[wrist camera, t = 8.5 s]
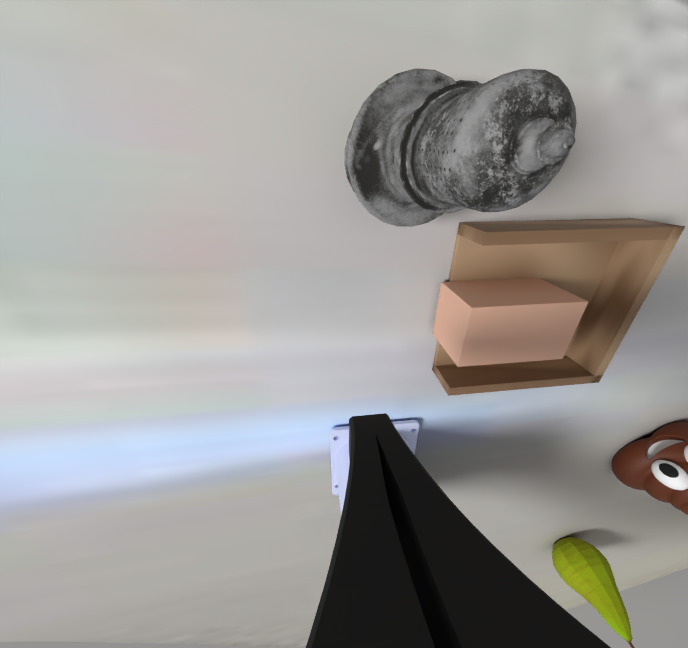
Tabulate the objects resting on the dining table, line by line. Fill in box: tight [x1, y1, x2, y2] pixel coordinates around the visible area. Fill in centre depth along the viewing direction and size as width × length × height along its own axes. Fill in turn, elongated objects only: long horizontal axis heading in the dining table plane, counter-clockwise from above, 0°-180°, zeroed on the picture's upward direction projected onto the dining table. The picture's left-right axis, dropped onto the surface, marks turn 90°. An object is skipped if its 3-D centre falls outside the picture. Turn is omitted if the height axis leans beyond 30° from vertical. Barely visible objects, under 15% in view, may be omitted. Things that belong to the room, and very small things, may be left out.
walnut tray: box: [432, 218, 685, 396], centre depth 20 cm, size 11×12×3 cm
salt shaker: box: [345, 69, 576, 226], centre depth 10 cm, size 6×6×12 cm
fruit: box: [552, 537, 634, 648], centre depth 37 cm, size 6×6×12 cm
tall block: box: [432, 278, 589, 367], centre depth 18 cm, size 4×4×7 cm
